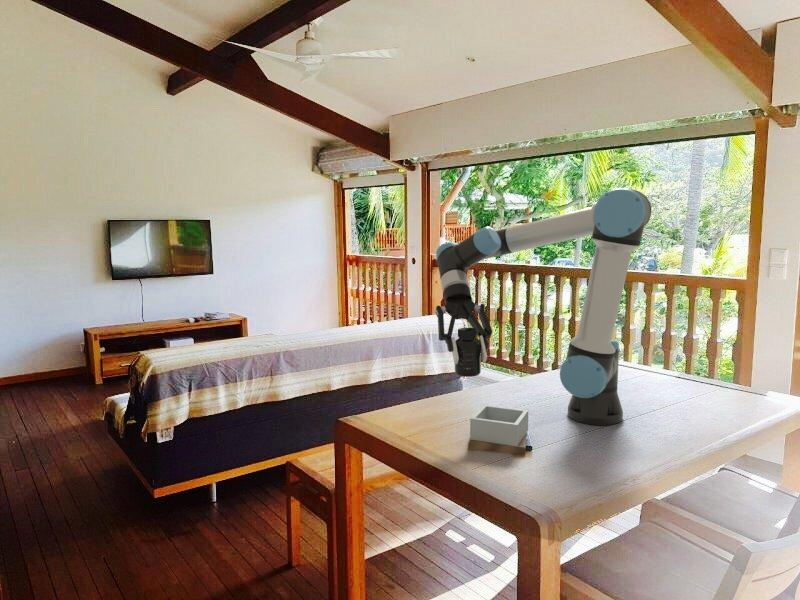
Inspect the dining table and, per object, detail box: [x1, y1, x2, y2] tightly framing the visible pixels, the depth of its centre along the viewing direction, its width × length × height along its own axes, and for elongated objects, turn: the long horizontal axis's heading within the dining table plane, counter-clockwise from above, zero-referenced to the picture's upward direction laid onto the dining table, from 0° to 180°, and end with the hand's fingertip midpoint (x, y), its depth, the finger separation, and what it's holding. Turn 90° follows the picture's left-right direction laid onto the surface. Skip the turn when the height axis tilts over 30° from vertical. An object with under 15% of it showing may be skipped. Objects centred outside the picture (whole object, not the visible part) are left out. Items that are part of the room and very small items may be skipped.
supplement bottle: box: [454, 327, 482, 378], centre depth 156 cm, size 7×7×12 cm
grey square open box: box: [469, 404, 529, 446], centre depth 153 cm, size 12×12×6 cm
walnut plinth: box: [467, 432, 528, 455], centre depth 154 cm, size 14×14×2 cm
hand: (470, 360), depth 153 cm, fingers closed on supplement bottle, 7 cm apart
